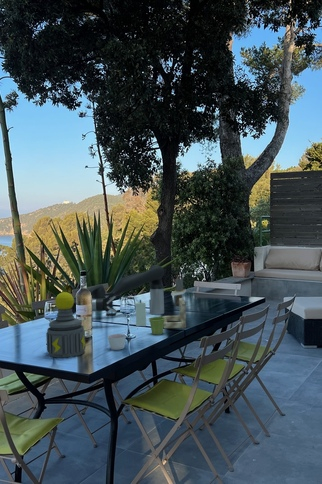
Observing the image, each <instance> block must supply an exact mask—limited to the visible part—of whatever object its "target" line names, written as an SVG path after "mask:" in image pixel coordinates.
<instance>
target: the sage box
mask: <svg viewBox="0 0 322 484" xmlns="http://www.w3.org/2000/svg"><path fill="white" fill-rule="evenodd" d="M135 326H136V327H146V326H147V309H146V301H142V299H139V301H136V302H135Z"/></svg>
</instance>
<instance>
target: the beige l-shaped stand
mask: <svg viewBox="0 0 322 484" xmlns="http://www.w3.org/2000/svg"><path fill="white" fill-rule="evenodd" d="M178 306H179V314H178V315H163V316H162V317H164V318H165V320H164V326H163V329H184V328H187V317H186V314H187V313H186V312H187V311H186V302H185V301H184V298H183V297H182V298H179V305H178Z"/></svg>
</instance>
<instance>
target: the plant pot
mask: <svg viewBox="0 0 322 484" xmlns="http://www.w3.org/2000/svg"><path fill="white" fill-rule="evenodd" d="M164 320H165V318H164V317H163V316H153V317H149V318H148V321H149V324H150V329H151V330H150V331H151V334H152V335H153V336H154V335H156V336H157V335H162V334H163V333H164Z"/></svg>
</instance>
